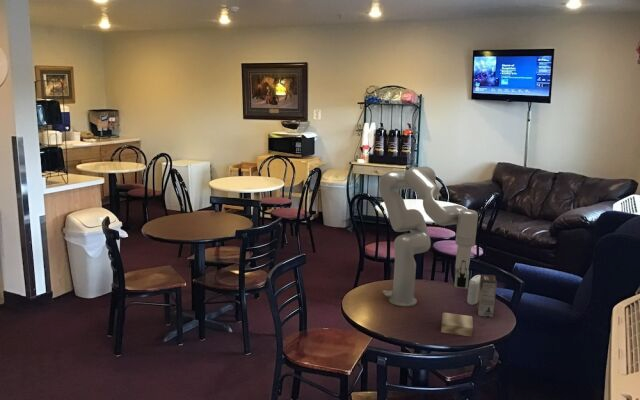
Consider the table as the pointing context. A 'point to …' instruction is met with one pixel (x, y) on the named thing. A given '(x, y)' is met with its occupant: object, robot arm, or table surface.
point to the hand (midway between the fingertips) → (461, 284)
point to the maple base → (457, 324)
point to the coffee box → (486, 295)
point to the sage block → (458, 276)
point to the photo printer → (473, 290)
